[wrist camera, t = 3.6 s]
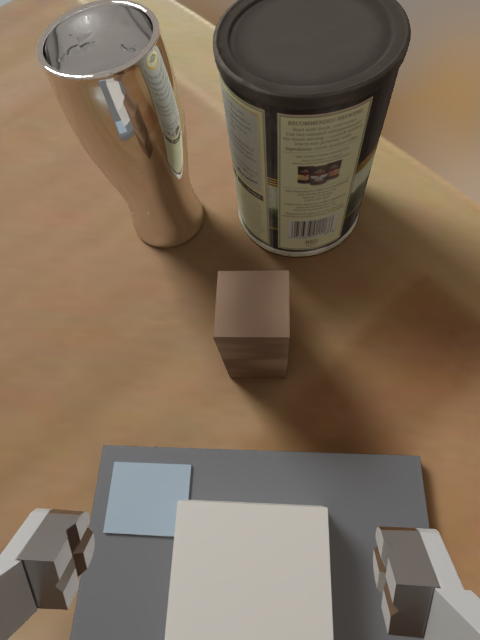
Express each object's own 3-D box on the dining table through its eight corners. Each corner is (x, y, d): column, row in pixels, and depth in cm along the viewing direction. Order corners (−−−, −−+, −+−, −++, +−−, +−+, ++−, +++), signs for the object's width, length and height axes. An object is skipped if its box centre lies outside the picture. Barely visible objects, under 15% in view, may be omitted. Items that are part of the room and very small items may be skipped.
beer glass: (135, 189, 36) (47, 1, 22) (211, 186, 35) (168, -10, 22) (124, 254, 33) (17, 85, 19) (206, 251, 32) (155, 75, 19)
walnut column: (229, 377, 28) (213, 336, 21) (232, 325, 30) (217, 270, 22) (286, 378, 28) (289, 337, 20) (286, 325, 29) (288, 270, 22)
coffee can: (309, 144, 36) (326, -48, 23) (385, 216, 32) (456, 34, 19) (214, 197, 35) (177, 23, 22) (282, 280, 31) (286, 128, 18)
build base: (64, 718, 21) (19, 766, 17) (109, 446, 27) (82, 439, 23) (453, 759, 19) (495, 821, 16) (414, 457, 25) (438, 451, 21)
